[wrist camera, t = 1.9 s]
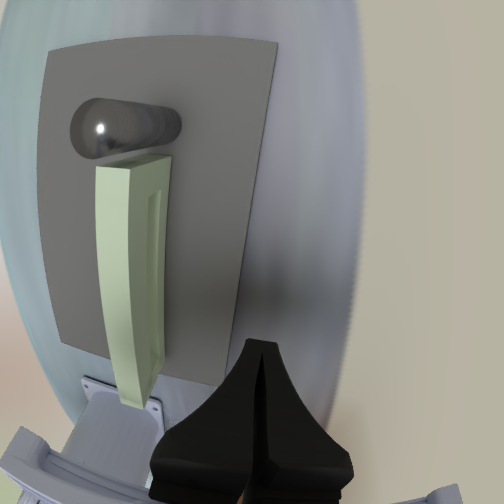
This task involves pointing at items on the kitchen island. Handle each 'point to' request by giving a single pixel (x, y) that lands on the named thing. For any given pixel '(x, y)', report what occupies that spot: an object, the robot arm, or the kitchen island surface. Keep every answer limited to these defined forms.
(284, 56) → the kitchen island surface
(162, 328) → the pale green slotted bar
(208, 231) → the mat
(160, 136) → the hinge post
